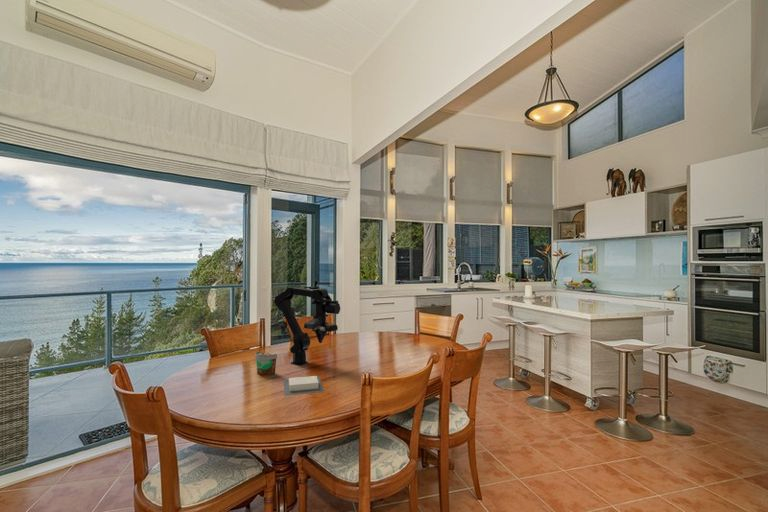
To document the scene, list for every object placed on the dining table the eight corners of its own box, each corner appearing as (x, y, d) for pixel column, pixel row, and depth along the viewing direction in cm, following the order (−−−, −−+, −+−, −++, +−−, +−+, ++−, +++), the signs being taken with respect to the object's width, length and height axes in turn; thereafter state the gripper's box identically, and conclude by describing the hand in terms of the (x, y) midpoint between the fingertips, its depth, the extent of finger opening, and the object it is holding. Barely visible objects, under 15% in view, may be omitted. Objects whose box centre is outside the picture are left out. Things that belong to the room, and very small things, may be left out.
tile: (288, 378, 152) (289, 385, 144) (316, 375, 156) (318, 382, 147) (288, 384, 152) (289, 391, 144) (316, 382, 156) (318, 389, 147)
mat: (283, 380, 159) (283, 379, 159) (319, 377, 163) (319, 376, 163) (284, 396, 140) (284, 395, 140) (324, 392, 144) (324, 391, 144)
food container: (248, 374, 167) (249, 353, 167) (258, 370, 172) (259, 350, 173) (267, 378, 161) (267, 356, 161) (277, 374, 167) (277, 353, 167)
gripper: (296, 313, 179) (296, 343, 179) (324, 316, 170) (323, 348, 170) (311, 310, 189) (311, 339, 189) (338, 313, 179) (338, 344, 179)
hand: (320, 342), depth 181 cm, fingers closed
